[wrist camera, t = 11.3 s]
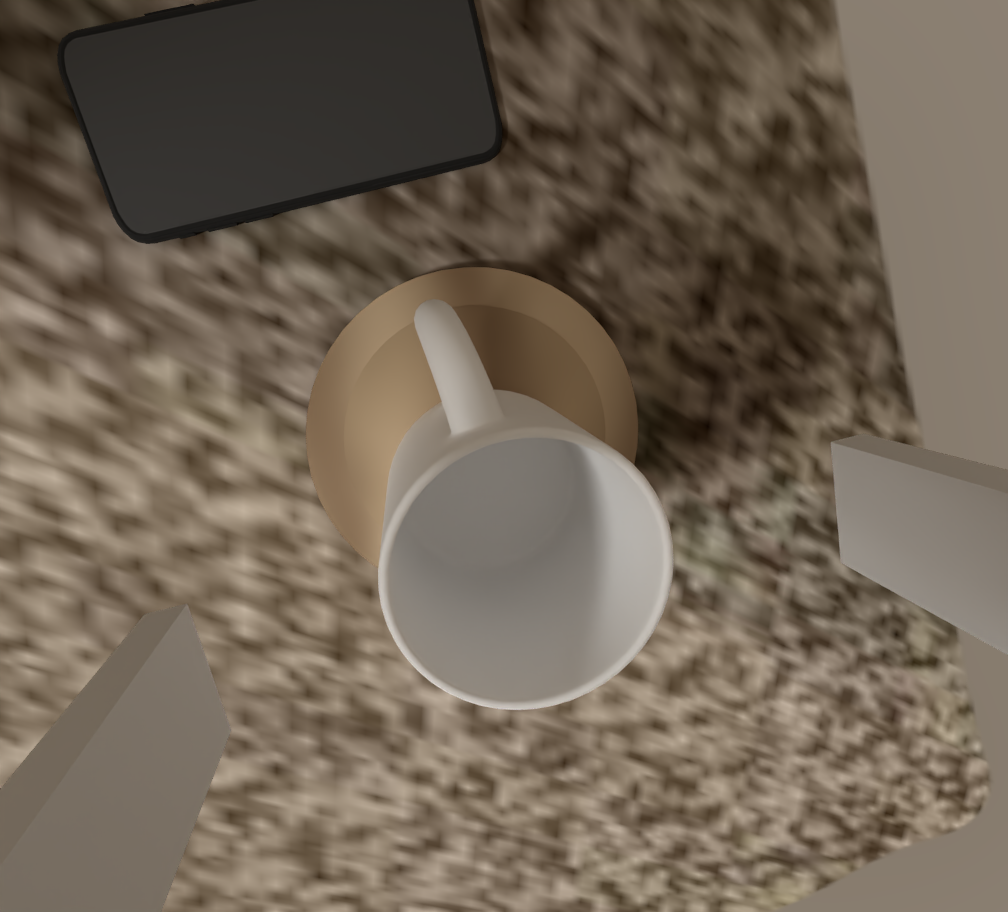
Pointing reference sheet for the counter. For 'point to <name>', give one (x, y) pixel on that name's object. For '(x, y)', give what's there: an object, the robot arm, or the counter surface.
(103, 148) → the smartphone
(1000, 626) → the robot arm
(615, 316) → the counter surface
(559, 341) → the coaster
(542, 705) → the mug
